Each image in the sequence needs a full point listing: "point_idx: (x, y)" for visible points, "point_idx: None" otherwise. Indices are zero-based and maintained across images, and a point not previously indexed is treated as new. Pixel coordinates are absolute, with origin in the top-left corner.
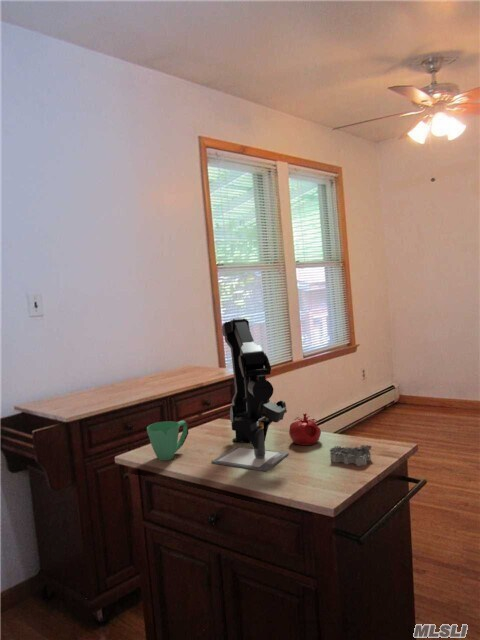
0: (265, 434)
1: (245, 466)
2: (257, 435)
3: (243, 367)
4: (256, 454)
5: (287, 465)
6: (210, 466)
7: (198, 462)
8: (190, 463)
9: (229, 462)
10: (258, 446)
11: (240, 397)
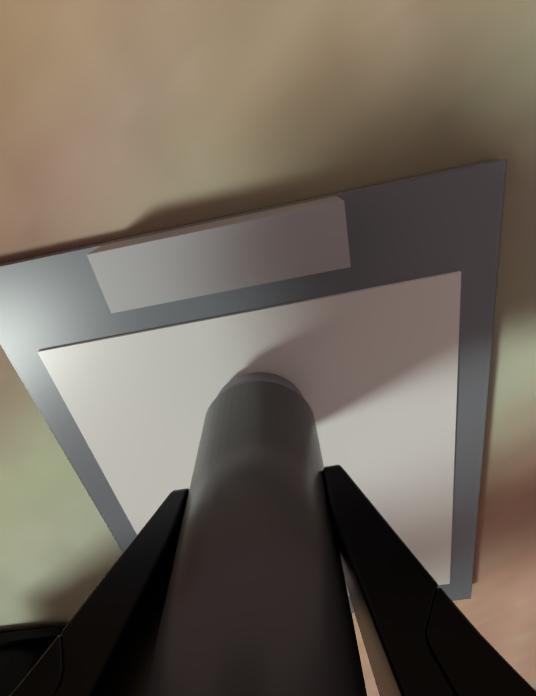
0: (106, 616)
1: (487, 383)
2: (454, 665)
3: None
4: (317, 434)
5: (215, 37)
6: (521, 561)
7: (482, 630)
8: (510, 644)
9: (450, 517)
10: (321, 481)
11: None
